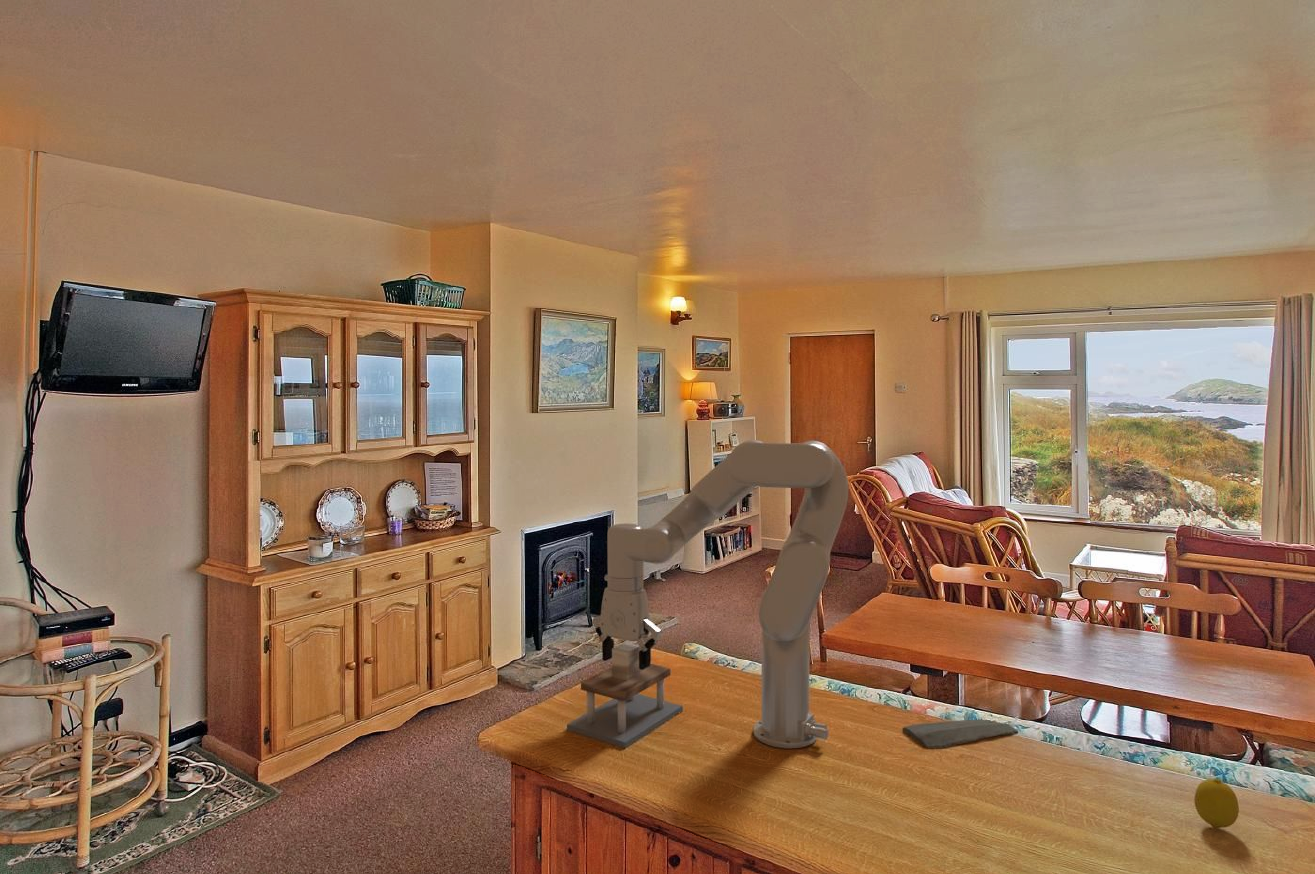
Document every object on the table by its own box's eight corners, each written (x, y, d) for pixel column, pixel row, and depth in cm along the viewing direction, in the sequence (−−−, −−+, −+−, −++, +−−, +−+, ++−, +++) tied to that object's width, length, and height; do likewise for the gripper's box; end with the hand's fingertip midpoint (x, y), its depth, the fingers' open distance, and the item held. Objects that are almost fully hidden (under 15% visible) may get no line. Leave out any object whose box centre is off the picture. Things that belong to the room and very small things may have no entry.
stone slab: (898, 737, 152) (930, 752, 142) (898, 723, 152) (929, 738, 143) (987, 724, 159) (1023, 738, 149) (986, 710, 159) (1022, 724, 149)
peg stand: (682, 711, 161) (682, 674, 161) (625, 748, 144) (625, 707, 143) (627, 696, 170) (627, 660, 169) (566, 729, 152) (566, 690, 152)
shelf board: (623, 701, 146) (623, 664, 146) (580, 689, 152) (580, 653, 152) (670, 675, 160) (670, 641, 160) (629, 665, 166) (629, 632, 166)
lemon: (1185, 819, 119) (1186, 770, 118) (1217, 817, 119) (1218, 769, 119) (1213, 839, 113) (1215, 788, 113) (1247, 837, 114) (1249, 787, 113)
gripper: (582, 581, 157) (583, 660, 158) (649, 592, 147) (649, 677, 148) (604, 574, 163) (604, 650, 164) (669, 584, 154) (670, 666, 154)
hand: (626, 663), depth 156 cm, fingers open, 9 cm apart
